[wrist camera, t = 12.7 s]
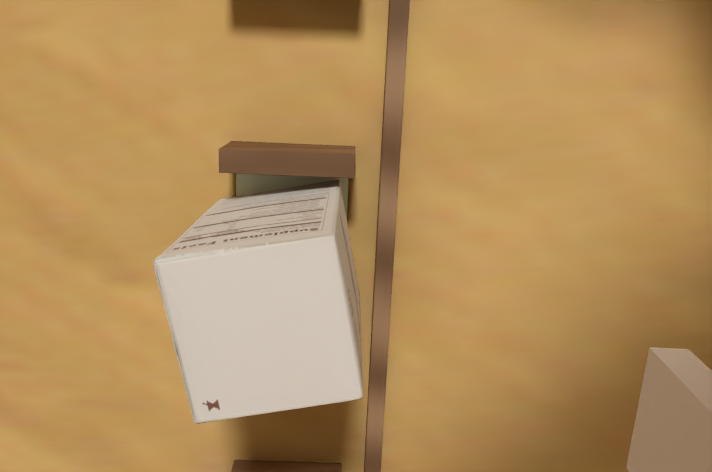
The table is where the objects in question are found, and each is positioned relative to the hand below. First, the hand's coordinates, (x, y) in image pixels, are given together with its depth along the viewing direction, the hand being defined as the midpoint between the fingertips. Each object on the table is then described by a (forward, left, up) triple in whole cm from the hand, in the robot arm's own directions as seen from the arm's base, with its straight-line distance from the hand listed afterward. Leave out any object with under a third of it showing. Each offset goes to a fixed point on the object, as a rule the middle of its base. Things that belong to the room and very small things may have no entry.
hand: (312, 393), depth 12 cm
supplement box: (+4, -3, -24) cm, 25 cm away
